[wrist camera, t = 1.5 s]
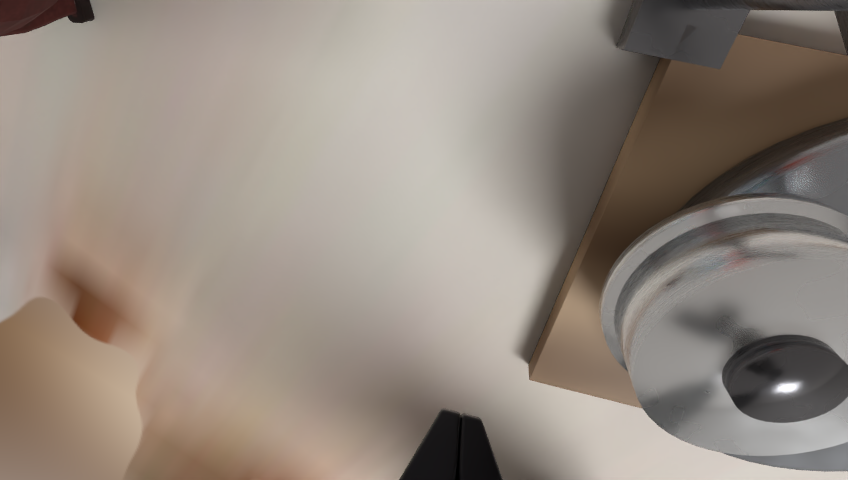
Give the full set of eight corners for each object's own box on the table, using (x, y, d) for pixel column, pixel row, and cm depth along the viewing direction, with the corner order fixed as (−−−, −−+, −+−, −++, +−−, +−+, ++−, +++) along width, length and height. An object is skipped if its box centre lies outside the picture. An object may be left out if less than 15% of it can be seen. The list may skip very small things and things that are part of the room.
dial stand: (742, 113, 14) (1002, 227, 7) (599, 83, 14) (699, 162, 7) (846, -73, 12) (1454, -214, 4) (669, -104, 12) (943, -289, 4)
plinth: (908, 459, 20) (926, 479, 19) (528, 364, 21) (529, 379, 21) (1322, 150, 12) (1385, 160, 11) (675, 23, 13) (687, 24, 12)
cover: (775, 408, 16) (843, 508, 13) (567, 356, 17) (581, 440, 14) (947, 227, 12) (1110, 309, 9) (661, 166, 13) (716, 221, 9)
